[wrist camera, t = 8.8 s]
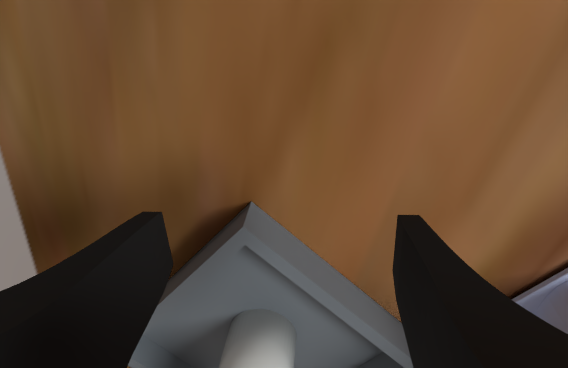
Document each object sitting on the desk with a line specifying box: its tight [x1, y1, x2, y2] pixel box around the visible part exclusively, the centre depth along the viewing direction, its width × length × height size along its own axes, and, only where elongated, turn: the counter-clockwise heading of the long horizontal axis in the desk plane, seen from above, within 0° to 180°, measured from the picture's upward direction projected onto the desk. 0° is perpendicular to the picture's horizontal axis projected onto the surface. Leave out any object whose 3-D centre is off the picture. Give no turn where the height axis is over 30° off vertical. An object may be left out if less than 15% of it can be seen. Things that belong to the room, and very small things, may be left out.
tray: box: [128, 201, 413, 368], centre depth 27 cm, size 14×14×2 cm
